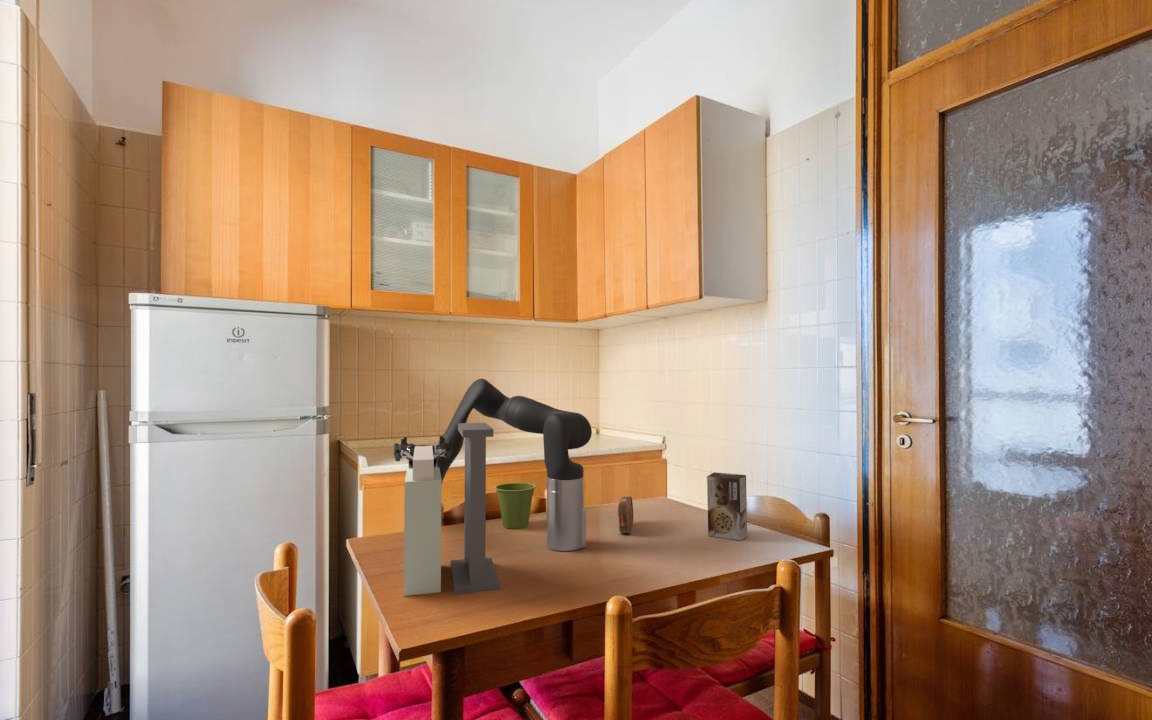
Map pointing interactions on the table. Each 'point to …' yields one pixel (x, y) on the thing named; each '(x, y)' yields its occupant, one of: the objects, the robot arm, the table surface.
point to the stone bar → (423, 463)
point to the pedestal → (422, 534)
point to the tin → (625, 515)
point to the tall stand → (474, 517)
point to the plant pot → (515, 503)
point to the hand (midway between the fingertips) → (423, 439)
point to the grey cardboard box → (727, 506)
